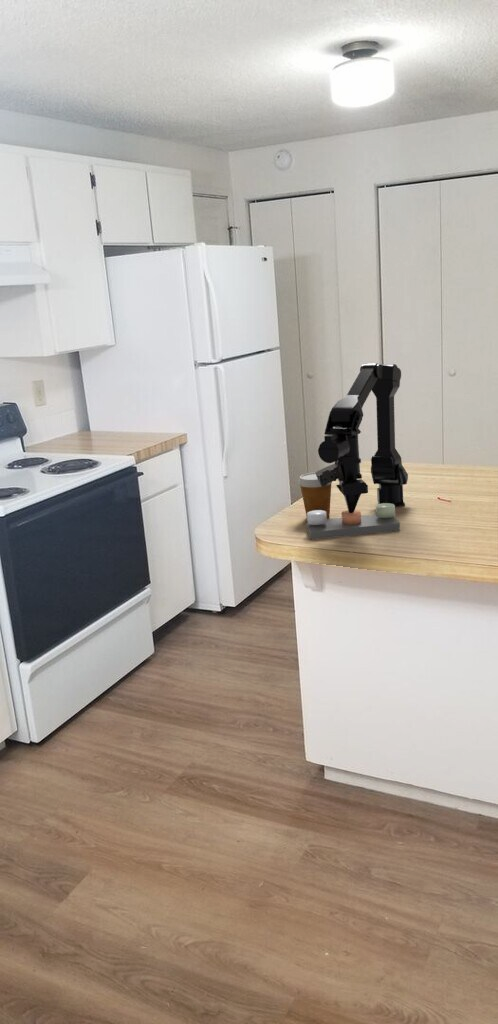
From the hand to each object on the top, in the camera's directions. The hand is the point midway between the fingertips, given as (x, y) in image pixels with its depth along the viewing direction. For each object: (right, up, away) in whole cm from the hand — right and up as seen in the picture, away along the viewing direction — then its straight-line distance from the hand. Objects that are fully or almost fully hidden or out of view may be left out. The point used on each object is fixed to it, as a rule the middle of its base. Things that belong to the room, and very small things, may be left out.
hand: (351, 512), depth 215 cm
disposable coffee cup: (-7, -2, +14) cm, 16 cm away
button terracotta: (0, -2, +1) cm, 2 cm away
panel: (0, -4, +1) cm, 4 cm away
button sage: (+9, -1, +1) cm, 9 cm away
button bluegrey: (-9, -2, 0) cm, 9 cm away
